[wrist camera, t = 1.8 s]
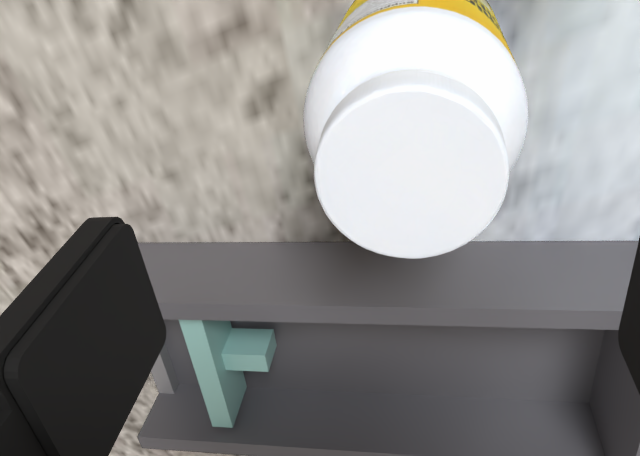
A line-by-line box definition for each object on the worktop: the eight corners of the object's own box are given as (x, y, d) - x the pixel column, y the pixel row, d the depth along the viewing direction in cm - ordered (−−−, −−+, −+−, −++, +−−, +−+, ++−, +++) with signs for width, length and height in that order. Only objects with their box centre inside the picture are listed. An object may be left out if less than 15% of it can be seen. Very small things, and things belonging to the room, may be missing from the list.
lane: (638, 241, 26) (698, 348, 21) (601, 401, 32) (640, 521, 26) (124, 242, 31) (56, 330, 25) (173, 382, 37) (127, 479, 31)
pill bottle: (497, 117, 24) (544, 287, 15) (347, 129, 26) (300, 291, 16) (500, -50, 21) (564, 29, 11) (327, -26, 22) (253, 62, 13)
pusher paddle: (263, 278, 29) (248, 317, 27) (285, 388, 34) (274, 430, 31) (197, 278, 30) (177, 316, 28) (228, 385, 34) (212, 426, 32)
